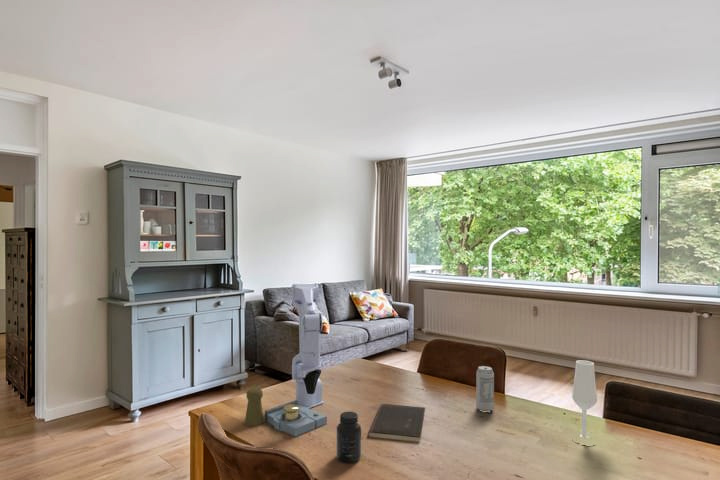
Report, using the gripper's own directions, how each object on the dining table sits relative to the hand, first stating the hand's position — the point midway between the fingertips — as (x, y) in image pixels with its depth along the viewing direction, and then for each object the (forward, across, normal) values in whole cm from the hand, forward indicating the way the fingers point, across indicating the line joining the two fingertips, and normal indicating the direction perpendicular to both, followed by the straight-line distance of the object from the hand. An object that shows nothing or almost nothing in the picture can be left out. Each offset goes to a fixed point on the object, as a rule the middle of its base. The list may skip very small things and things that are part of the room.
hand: (310, 393), depth 140 cm
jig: (+10, -1, -6) cm, 12 cm away
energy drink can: (+11, -32, +53) cm, 63 cm away
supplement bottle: (+11, +15, +18) cm, 26 cm away
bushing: (+10, +2, -6) cm, 12 cm away
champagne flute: (+11, -17, +83) cm, 85 cm away
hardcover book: (+11, -11, +27) cm, 31 cm away
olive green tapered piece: (+11, +4, -18) cm, 22 cm away
